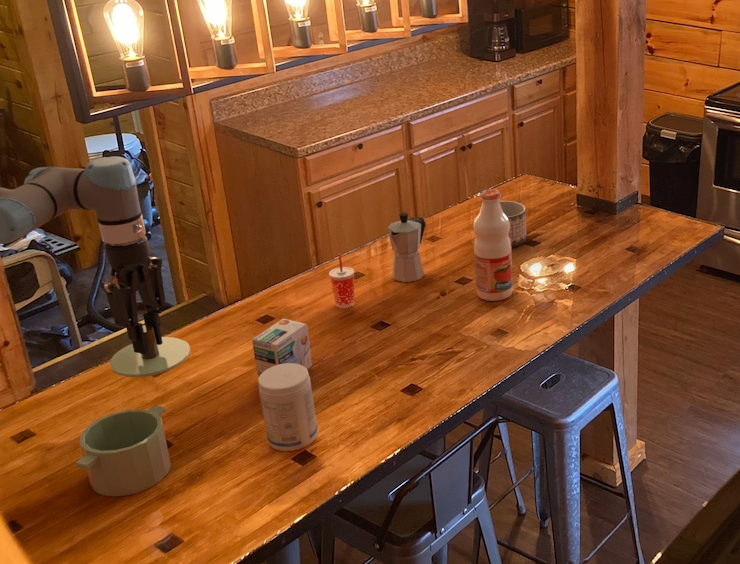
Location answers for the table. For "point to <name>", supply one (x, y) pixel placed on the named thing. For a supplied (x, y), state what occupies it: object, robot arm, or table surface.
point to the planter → (515, 221)
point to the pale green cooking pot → (125, 452)
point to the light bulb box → (282, 345)
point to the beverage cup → (343, 285)
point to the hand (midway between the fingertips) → (148, 347)
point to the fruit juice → (492, 249)
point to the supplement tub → (288, 407)
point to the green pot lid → (150, 356)
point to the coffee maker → (407, 247)
